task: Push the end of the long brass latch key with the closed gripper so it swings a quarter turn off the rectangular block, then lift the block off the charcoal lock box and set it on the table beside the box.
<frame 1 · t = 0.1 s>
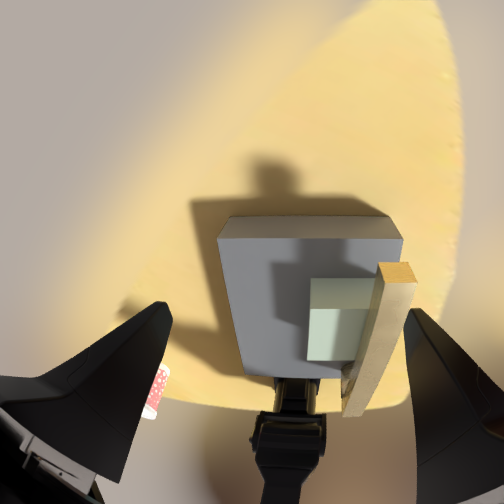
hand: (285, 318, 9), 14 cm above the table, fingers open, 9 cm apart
beverage cup: (158, 366, 41), on the table
rectangular block: (344, 306, 22), point 4 cm above the table, touching lock box
latch key: (368, 345, 20), point 7 cm above the table, hinge at 0.0°
lock box: (309, 297, 27), on the table
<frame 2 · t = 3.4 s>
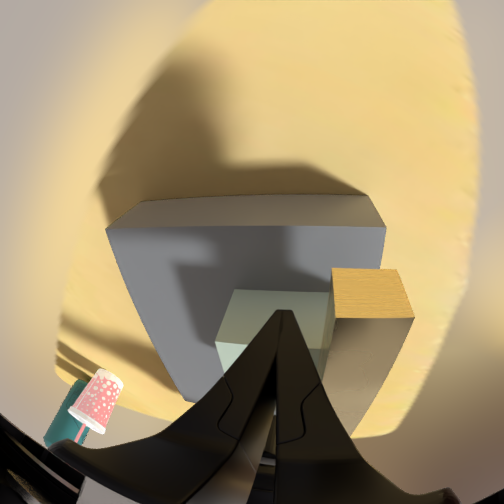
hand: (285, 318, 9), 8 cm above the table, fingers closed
beverage cup: (111, 376, 34), on the table
rectangular block: (294, 332, 14), point 4 cm above the table, touching lock box
beverage bottle: (95, 382, 38), on the table
latch key: (328, 394, 12), point 7 cm above the table, hinge at 1.1°, touching gripper
lock box: (257, 313, 20), on the table
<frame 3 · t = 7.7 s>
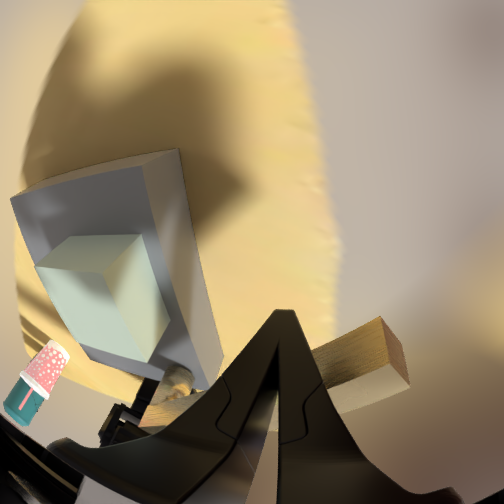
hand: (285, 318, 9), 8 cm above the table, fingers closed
beverage cup: (60, 348, 34), on the table
rectangular block: (117, 278, 15), point 4 cm above the table, touching lock box
beverage bottle: (52, 357, 38), on the table
latch key: (234, 384, 13), point 7 cm above the table, hinge at 50.5°, touching gripper
lock box: (126, 272, 20), on the table
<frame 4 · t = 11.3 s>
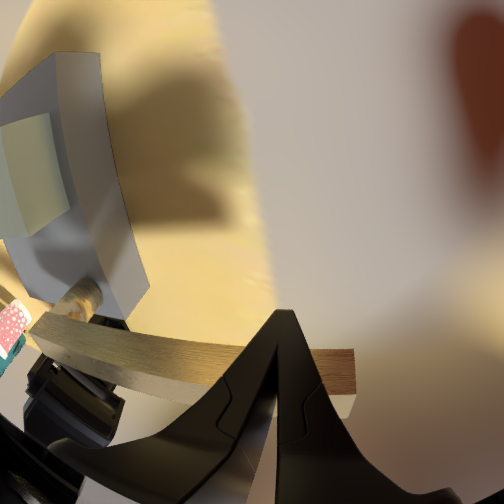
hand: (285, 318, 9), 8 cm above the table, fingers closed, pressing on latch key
beverage cup: (23, 309, 31), on the table
rectangular block: (33, 170, 12), point 4 cm above the table, touching lock box
beverage bottle: (21, 324, 35), on the table
latch key: (160, 337, 12), point 7 cm above the table, hinge at 88.4°, touching gripper
lock box: (58, 189, 17), on the table
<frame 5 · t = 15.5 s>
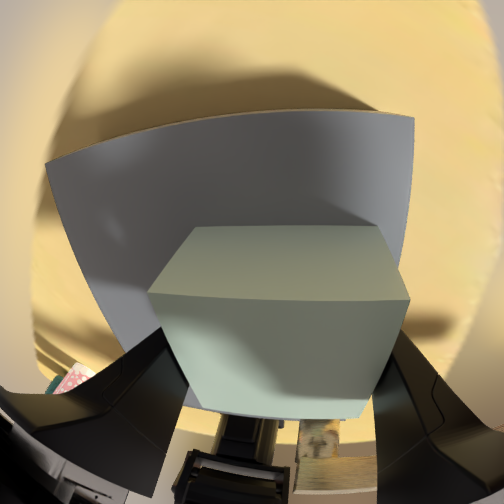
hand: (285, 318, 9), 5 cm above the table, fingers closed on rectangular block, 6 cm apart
beverage cup: (88, 372, 29), on the table
rectangular block: (287, 298, 10), point 4 cm above the table, touching gripper, lock box
latch key: (431, 439, 10), point 7 cm above the table, hinge at 93.3°
lock box: (240, 283, 15), on the table
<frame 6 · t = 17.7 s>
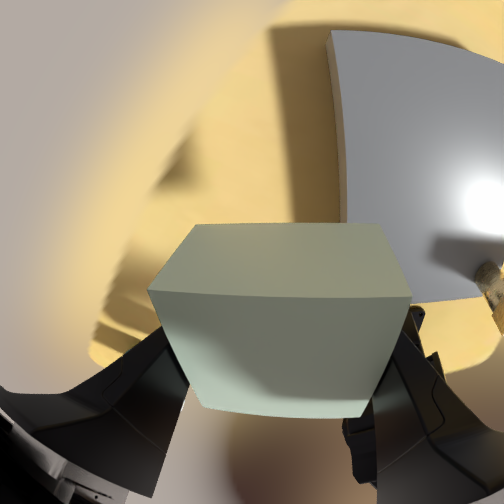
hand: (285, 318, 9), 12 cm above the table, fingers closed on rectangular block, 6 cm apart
rectangular block: (288, 296, 10), point 11 cm above the table, touching gripper
lock box: (427, 170, 16), on the table
when the fingers open (3 cm above the table, at t = 20.2 s): rectangular block drops 2 cm, on the table.
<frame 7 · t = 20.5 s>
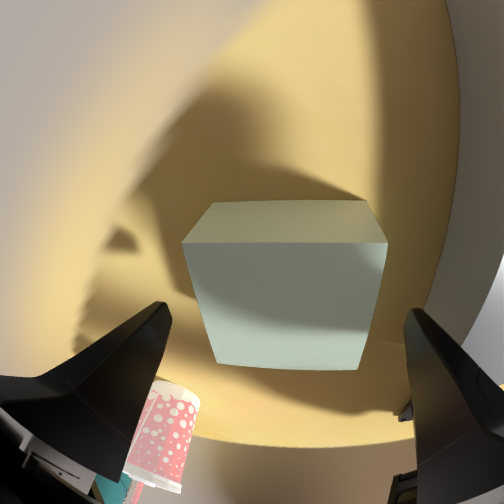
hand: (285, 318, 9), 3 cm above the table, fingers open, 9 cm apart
beverage cup: (176, 392, 21), on the table
rectangular block: (291, 262, 12), on the table
beverage bottle: (134, 401, 25), on the table
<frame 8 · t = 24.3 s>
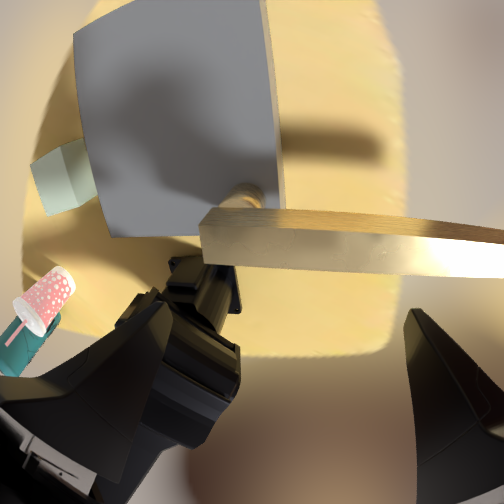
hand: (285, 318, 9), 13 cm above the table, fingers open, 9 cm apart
beverage cup: (65, 278, 32), on the table
rectangular block: (74, 172, 23), on the table
beverage bottle: (54, 300, 36), on the table
latch key: (377, 227, 13), point 7 cm above the table, hinge at 93.3°
lock box: (184, 106, 18), on the table
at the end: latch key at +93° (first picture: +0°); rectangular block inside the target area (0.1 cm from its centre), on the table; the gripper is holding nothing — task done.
